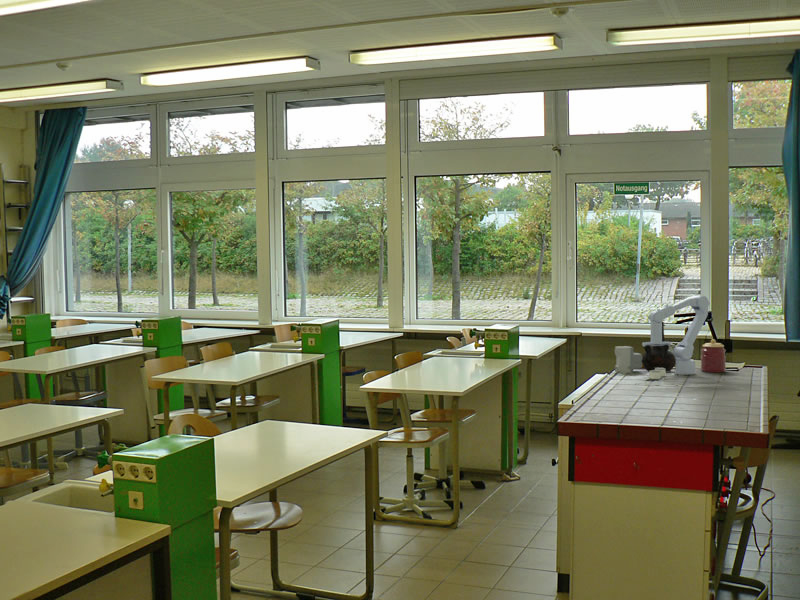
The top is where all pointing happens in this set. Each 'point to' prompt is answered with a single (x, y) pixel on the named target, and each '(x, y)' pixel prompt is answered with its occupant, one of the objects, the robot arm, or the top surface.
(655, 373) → the slider
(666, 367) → the glass bottle
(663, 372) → the slider
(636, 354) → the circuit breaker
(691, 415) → the top surface
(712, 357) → the canister
